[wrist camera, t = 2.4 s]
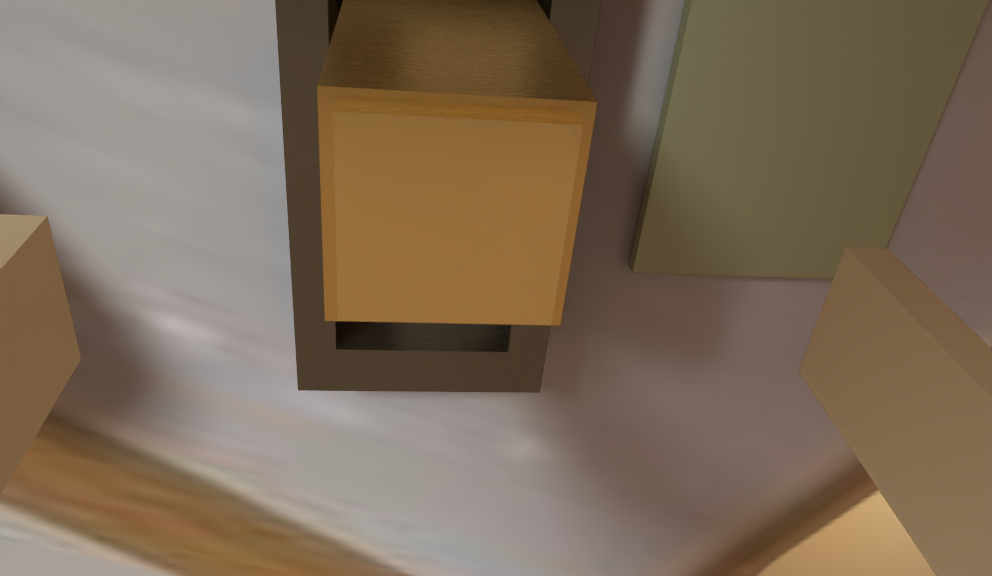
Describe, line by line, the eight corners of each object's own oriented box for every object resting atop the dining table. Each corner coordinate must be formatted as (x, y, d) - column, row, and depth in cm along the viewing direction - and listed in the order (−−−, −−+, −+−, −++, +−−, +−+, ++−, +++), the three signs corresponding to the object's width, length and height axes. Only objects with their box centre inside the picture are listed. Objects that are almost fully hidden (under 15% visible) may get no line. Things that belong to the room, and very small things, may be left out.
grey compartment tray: (267, -484, 18) (244, -527, 16) (639, -428, 19) (673, -460, 17) (307, 341, 31) (298, 390, 28) (529, 344, 32) (539, 392, 30)
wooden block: (356, -43, 23) (314, 93, 13) (519, -30, 24) (602, 109, 14) (357, 115, 26) (322, 332, 16) (503, 123, 27) (563, 336, 16)
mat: (715, -141, 23) (722, -139, 22) (1020, -110, 24) (1034, -107, 24) (628, 265, 30) (632, 272, 30) (865, 272, 32) (873, 280, 31)
